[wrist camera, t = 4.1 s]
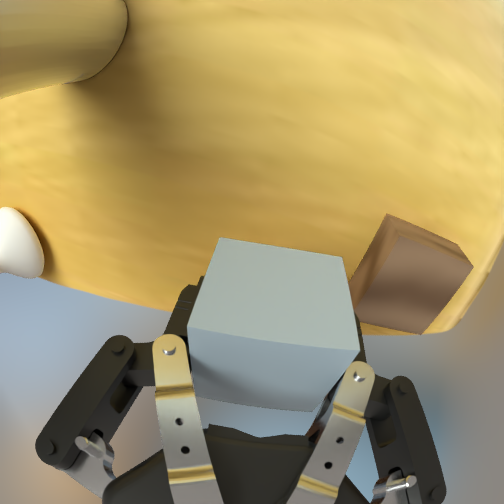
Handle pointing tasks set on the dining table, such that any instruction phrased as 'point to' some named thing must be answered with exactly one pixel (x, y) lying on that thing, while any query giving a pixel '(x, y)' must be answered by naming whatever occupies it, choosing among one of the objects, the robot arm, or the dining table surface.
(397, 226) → the walnut base block
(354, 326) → the slate block
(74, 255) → the dining table surface
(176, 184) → the dining table surface
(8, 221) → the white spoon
